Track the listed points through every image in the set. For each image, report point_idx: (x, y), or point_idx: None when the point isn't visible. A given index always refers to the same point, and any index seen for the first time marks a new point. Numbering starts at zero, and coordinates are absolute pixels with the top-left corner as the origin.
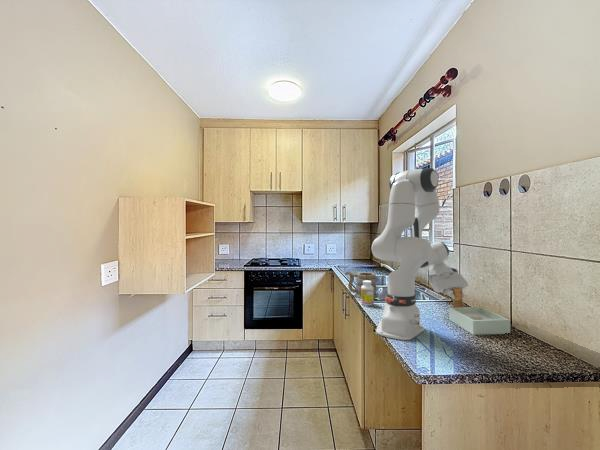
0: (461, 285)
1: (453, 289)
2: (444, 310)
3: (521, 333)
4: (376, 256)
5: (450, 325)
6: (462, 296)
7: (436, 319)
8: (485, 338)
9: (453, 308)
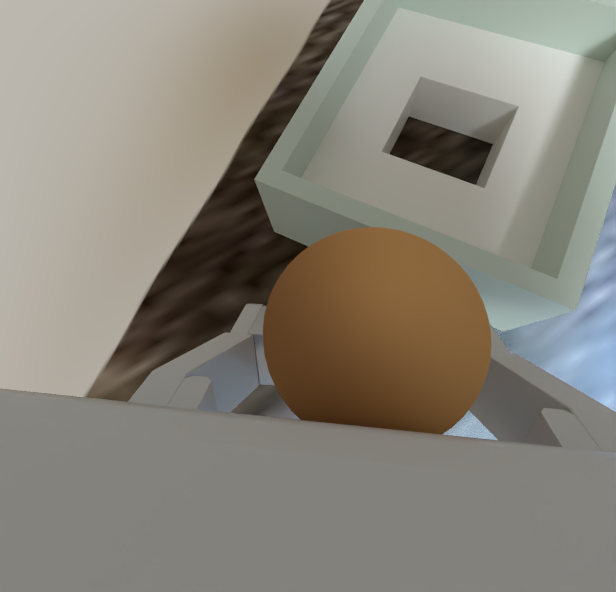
0: (59, 409)
1: (473, 383)
2: None
3: (330, 26)
4: None
5: (597, 249)
6: None
7: (602, 391)
8: None
9: (545, 274)
